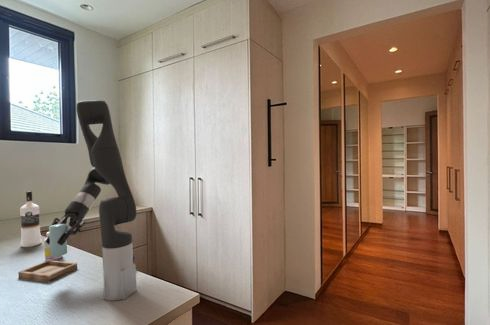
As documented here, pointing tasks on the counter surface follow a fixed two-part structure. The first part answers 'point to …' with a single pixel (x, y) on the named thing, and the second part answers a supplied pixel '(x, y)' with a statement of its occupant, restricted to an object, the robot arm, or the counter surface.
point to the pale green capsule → (55, 235)
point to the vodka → (30, 223)
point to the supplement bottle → (47, 250)
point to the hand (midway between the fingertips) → (53, 243)
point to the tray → (47, 271)
